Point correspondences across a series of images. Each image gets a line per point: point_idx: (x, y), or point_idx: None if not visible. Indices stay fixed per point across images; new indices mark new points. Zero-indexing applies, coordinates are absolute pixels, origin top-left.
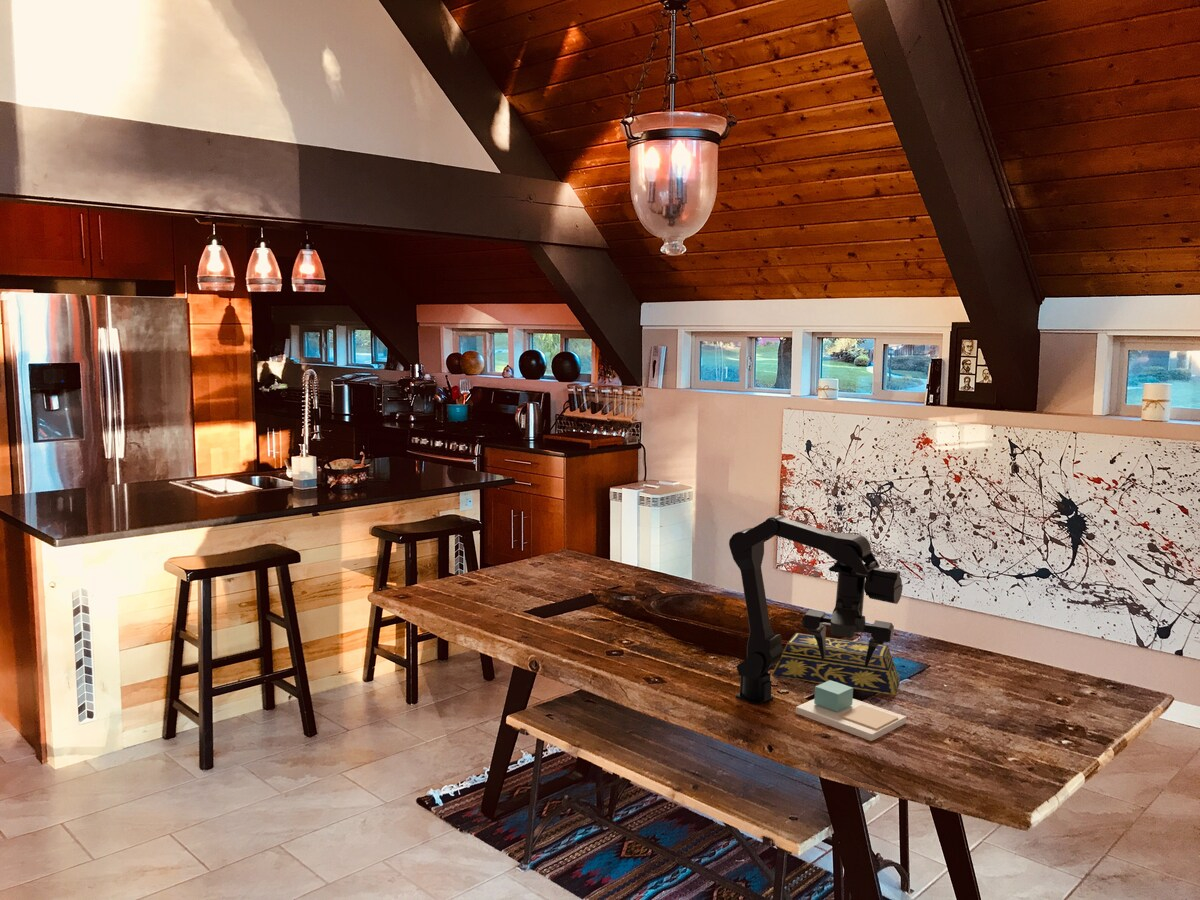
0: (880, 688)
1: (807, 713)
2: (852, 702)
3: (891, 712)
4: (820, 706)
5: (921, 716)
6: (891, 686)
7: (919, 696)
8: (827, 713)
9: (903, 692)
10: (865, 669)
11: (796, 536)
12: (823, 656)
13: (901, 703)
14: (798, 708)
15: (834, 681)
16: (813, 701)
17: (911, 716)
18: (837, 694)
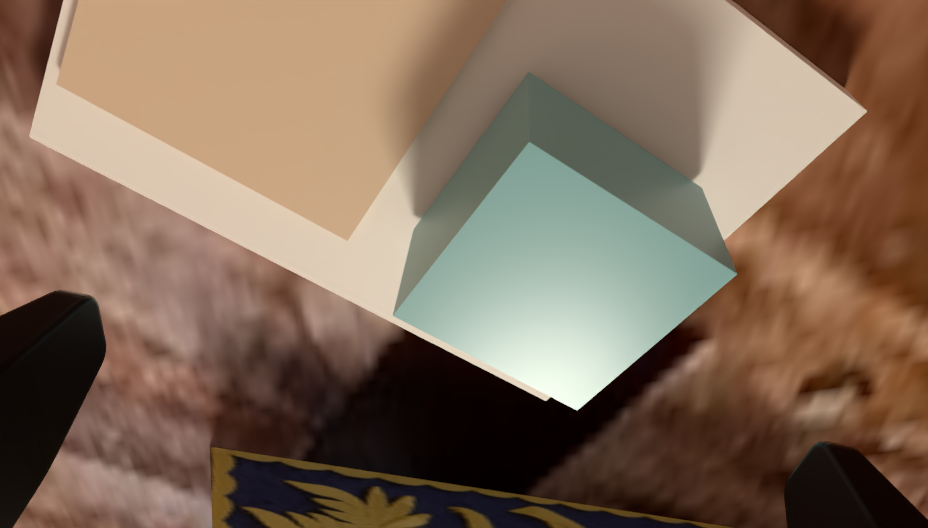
0: (283, 479)
1: (777, 39)
2: None
3: (141, 181)
4: None
5: (11, 239)
6: (222, 489)
7: (106, 452)
8: (612, 35)
9: (186, 476)
10: None
11: None
12: (861, 489)
13: (163, 371)
14: (847, 96)
15: (518, 513)
16: None
17: (62, 226)
18: (536, 143)
